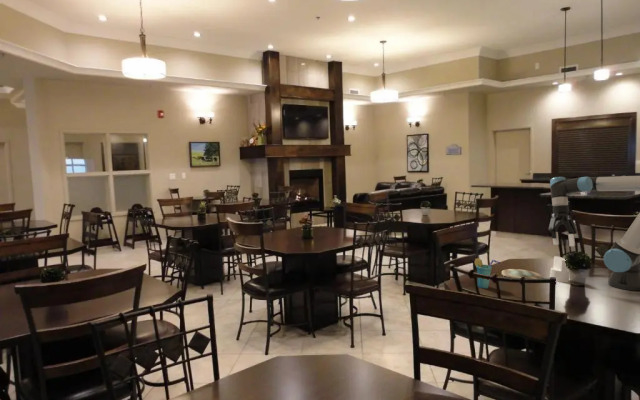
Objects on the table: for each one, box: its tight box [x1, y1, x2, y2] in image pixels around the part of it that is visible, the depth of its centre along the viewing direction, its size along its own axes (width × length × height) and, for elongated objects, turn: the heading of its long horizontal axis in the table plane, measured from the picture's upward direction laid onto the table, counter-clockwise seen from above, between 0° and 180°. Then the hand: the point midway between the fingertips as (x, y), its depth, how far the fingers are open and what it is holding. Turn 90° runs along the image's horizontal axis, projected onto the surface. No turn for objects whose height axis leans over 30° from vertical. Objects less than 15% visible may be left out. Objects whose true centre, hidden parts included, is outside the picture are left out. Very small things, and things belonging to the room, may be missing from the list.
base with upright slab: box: [549, 255, 570, 284], centre depth 237 cm, size 9×9×12 cm
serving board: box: [501, 268, 542, 280], centre depth 244 cm, size 20×20×2 cm
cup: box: [474, 257, 501, 289], centre depth 222 cm, size 14×8×15 cm, turn 41°
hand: (564, 245), depth 231 cm, fingers open, 13 cm apart
